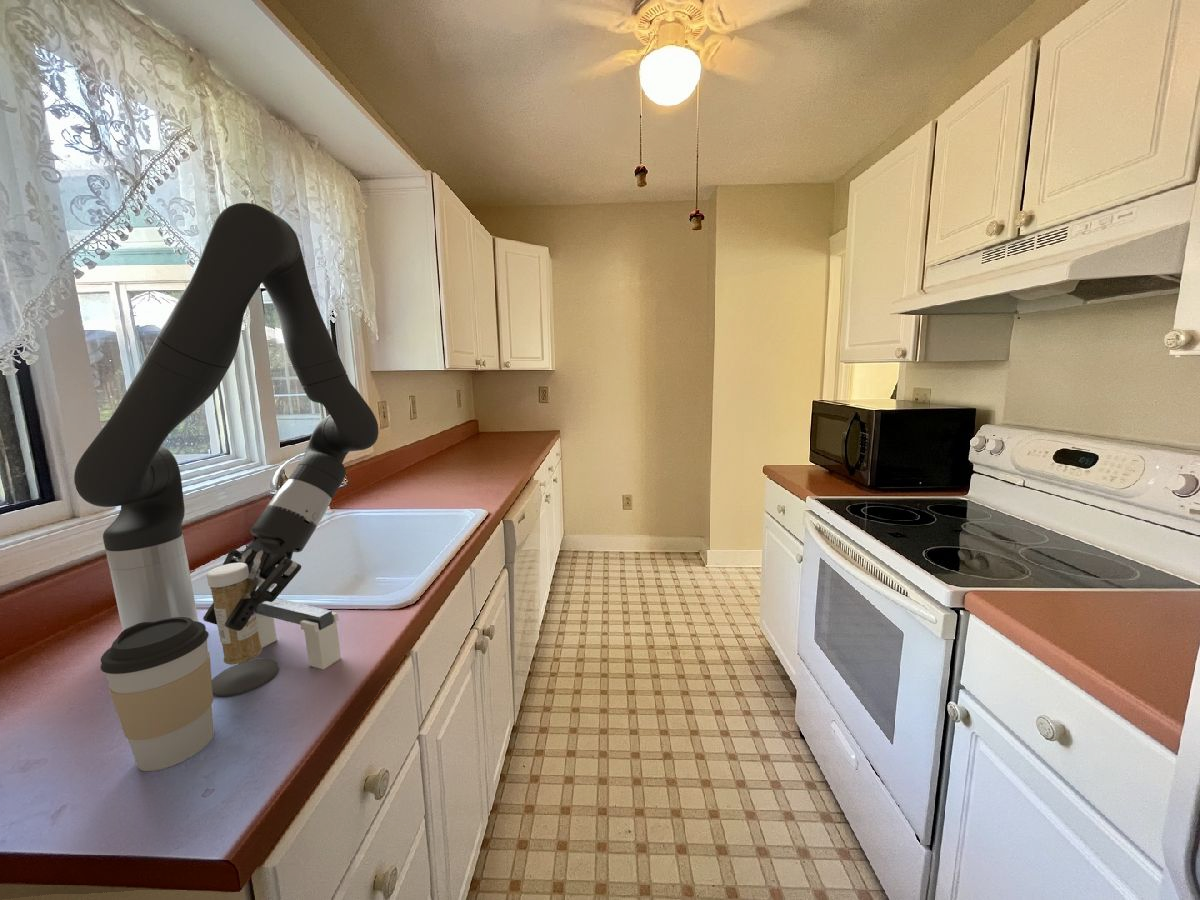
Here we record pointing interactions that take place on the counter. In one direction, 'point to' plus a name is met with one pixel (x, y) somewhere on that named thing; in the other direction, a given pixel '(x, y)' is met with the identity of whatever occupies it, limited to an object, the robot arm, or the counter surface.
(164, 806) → the counter surface
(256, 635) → the sprinkles bottle
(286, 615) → the crossbar
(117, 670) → the coffee cup
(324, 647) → the hurdle posts
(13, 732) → the counter surface
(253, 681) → the rubber mat
